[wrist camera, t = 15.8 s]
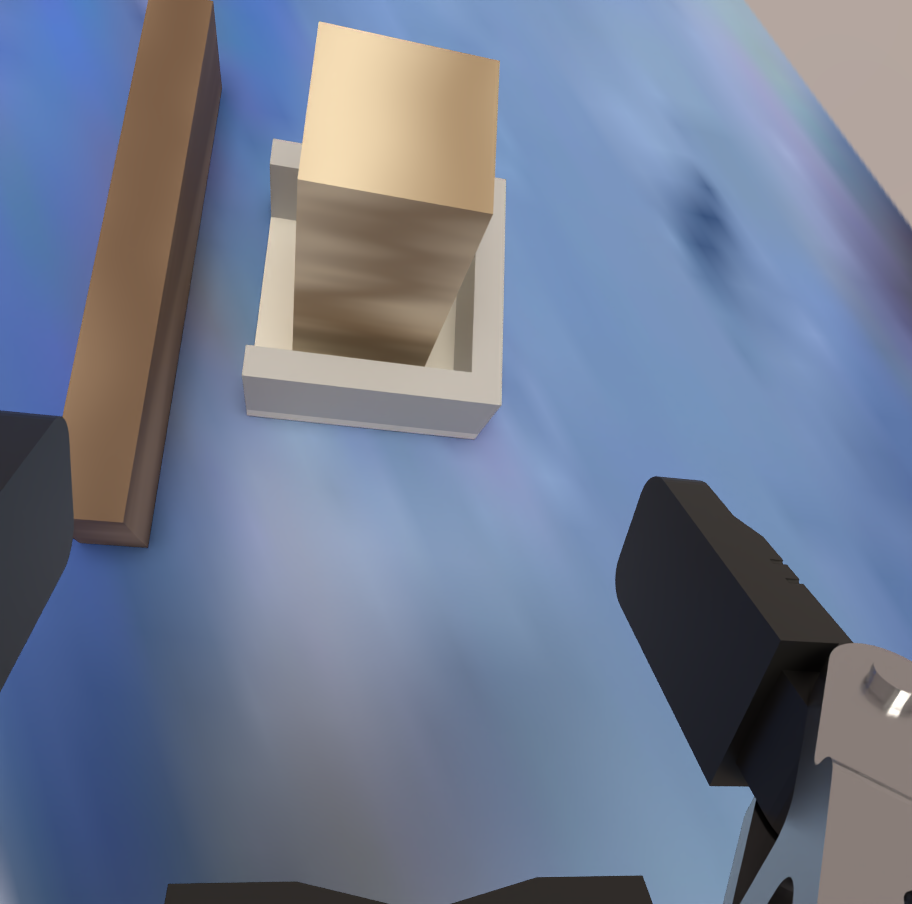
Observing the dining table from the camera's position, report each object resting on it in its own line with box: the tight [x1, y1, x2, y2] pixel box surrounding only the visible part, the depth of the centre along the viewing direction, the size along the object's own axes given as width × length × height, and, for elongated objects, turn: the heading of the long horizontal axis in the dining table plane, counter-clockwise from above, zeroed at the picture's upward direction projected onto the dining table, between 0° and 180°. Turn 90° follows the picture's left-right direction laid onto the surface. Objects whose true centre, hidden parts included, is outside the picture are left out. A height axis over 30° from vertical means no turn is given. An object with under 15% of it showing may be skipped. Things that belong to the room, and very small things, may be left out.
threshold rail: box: [63, 0, 222, 548], centre depth 25 cm, size 2×18×4 cm, turn 177°
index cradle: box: [242, 139, 506, 439], centre depth 26 cm, size 8×8×4 cm
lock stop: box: [292, 22, 500, 367], centre depth 23 cm, size 4×4×10 cm
